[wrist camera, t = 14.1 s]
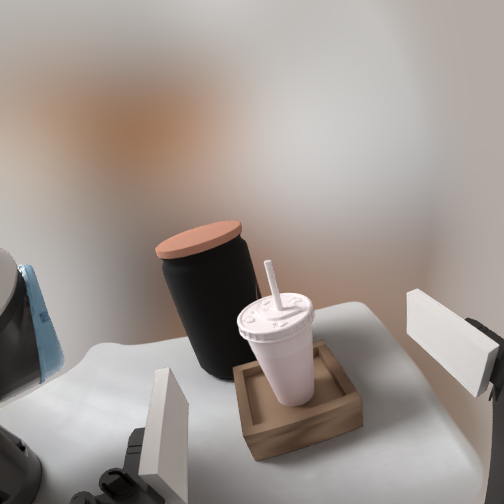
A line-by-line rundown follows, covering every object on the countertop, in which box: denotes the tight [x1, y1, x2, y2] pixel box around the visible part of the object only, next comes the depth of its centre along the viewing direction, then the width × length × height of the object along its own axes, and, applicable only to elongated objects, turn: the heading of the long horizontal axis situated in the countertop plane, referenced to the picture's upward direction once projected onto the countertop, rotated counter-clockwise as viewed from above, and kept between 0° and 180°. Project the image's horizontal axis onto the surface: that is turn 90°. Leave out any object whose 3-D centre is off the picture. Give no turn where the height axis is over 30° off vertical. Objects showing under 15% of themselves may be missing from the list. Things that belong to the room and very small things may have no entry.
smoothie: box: [237, 260, 315, 407], centre depth 25 cm, size 6×6×14 cm
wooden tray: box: [233, 339, 363, 461], centre depth 28 cm, size 10×10×4 cm
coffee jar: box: [156, 221, 262, 379], centre depth 38 cm, size 11×11×18 cm
